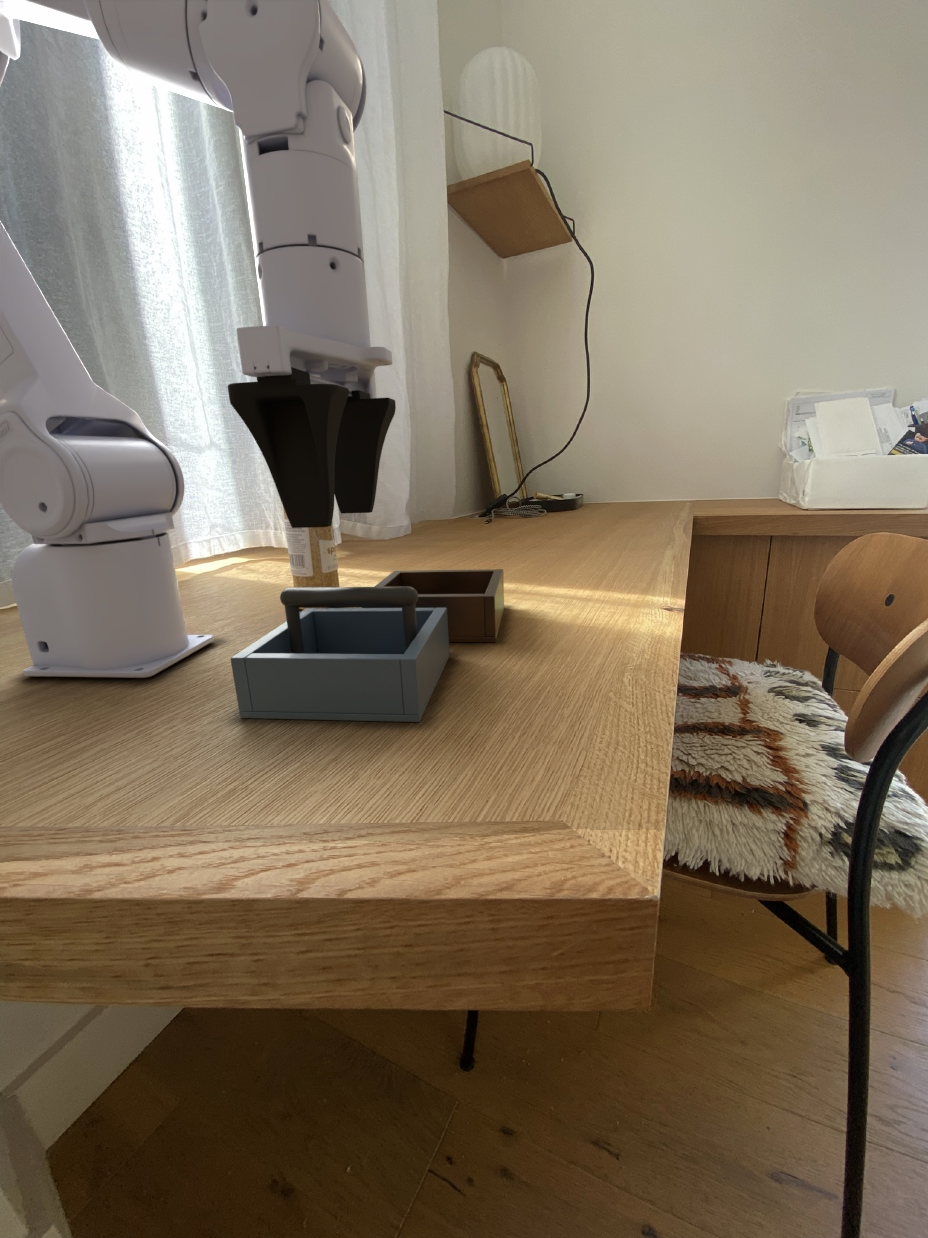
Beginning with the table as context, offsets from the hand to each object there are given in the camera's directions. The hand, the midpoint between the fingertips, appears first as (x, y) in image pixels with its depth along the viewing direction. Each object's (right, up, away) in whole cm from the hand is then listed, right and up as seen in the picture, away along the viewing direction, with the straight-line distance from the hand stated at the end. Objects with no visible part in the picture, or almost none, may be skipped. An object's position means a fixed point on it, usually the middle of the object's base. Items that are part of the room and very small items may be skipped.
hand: (336, 519), depth 34 cm
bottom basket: (+6, -6, +12) cm, 15 cm away
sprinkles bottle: (-6, -5, +20) cm, 22 cm away
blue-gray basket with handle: (+1, -10, 0) cm, 10 cm away
